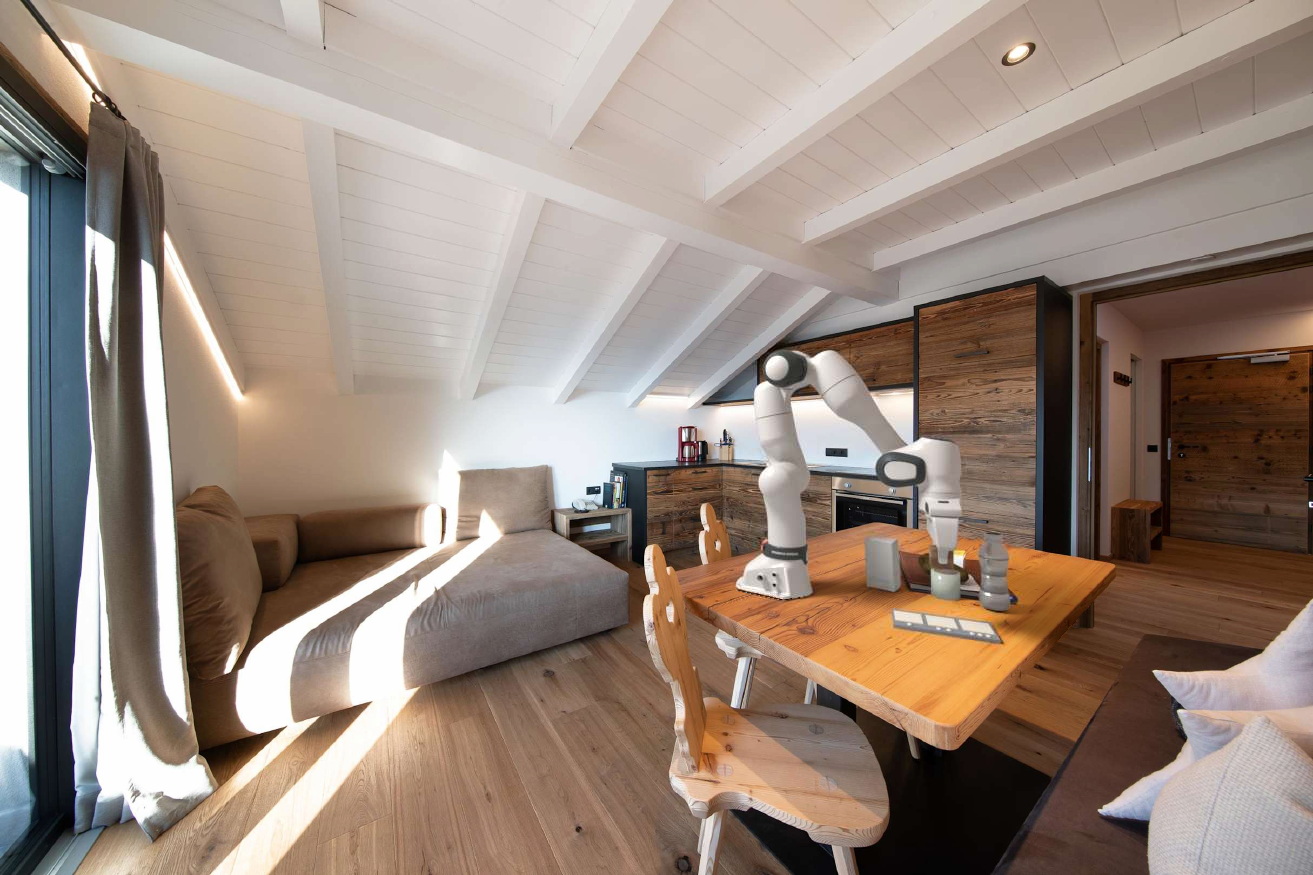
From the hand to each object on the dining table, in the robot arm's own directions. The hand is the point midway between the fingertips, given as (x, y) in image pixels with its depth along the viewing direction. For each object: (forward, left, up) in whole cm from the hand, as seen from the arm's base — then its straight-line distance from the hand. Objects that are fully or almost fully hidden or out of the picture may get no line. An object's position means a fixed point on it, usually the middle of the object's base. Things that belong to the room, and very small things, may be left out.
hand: (940, 559), depth 107 cm
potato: (+5, +37, -17) cm, 40 cm away
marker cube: (0, 0, -2) cm, 2 cm away
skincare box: (-12, +23, -16) cm, 31 cm away
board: (0, -1, -16) cm, 16 cm away
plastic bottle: (+14, +16, -16) cm, 27 cm away
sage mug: (+4, +22, -16) cm, 28 cm away
